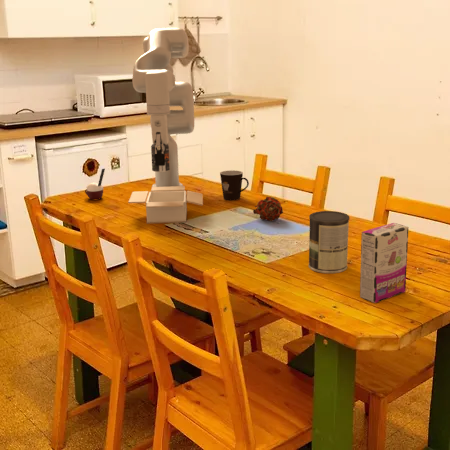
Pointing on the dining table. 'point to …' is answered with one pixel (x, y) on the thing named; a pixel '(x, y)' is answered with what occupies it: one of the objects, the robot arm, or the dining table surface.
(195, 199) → the flap
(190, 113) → the robot arm
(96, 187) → the cocoa
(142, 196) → the carton
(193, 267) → the dining table surface
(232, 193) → the coffee mug
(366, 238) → the candy bar box
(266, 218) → the dark red rounded piece
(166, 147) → the pill bottle
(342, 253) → the coffee can
